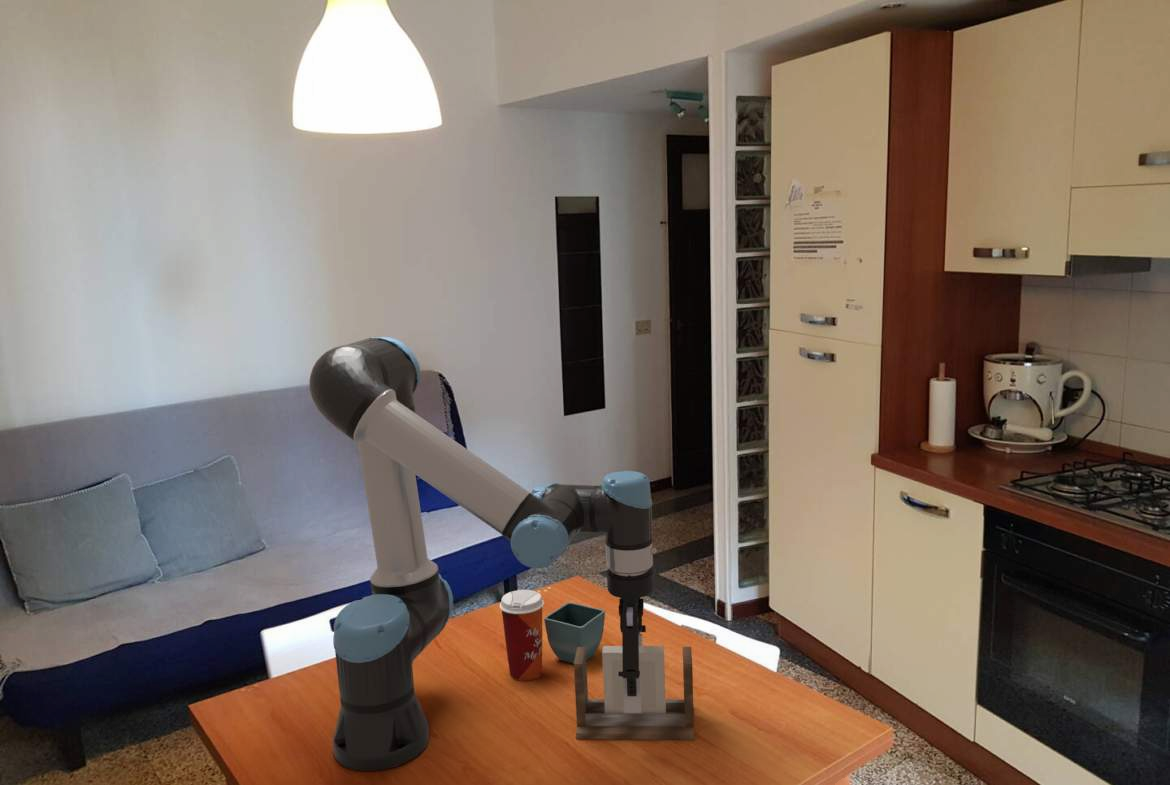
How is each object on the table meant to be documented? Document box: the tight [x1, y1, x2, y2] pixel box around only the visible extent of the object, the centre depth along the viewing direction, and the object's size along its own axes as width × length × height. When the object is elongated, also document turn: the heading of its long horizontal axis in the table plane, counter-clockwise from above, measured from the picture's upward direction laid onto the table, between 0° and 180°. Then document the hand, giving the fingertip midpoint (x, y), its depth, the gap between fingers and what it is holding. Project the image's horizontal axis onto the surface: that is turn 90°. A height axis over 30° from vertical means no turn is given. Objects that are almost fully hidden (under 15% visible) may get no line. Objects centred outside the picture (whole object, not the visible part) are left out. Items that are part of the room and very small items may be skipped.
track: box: [573, 646, 695, 741], centre depth 147 cm, size 19×10×12 cm, turn 85°
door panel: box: [601, 645, 667, 714], centre depth 147 cm, size 10×2×12 cm, turn 85°
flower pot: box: [543, 601, 606, 664], centre depth 171 cm, size 9×9×9 cm
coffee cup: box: [499, 589, 545, 682], centre depth 165 cm, size 8×8×15 cm
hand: (634, 690), depth 147 cm, fingers open, 13 cm apart
